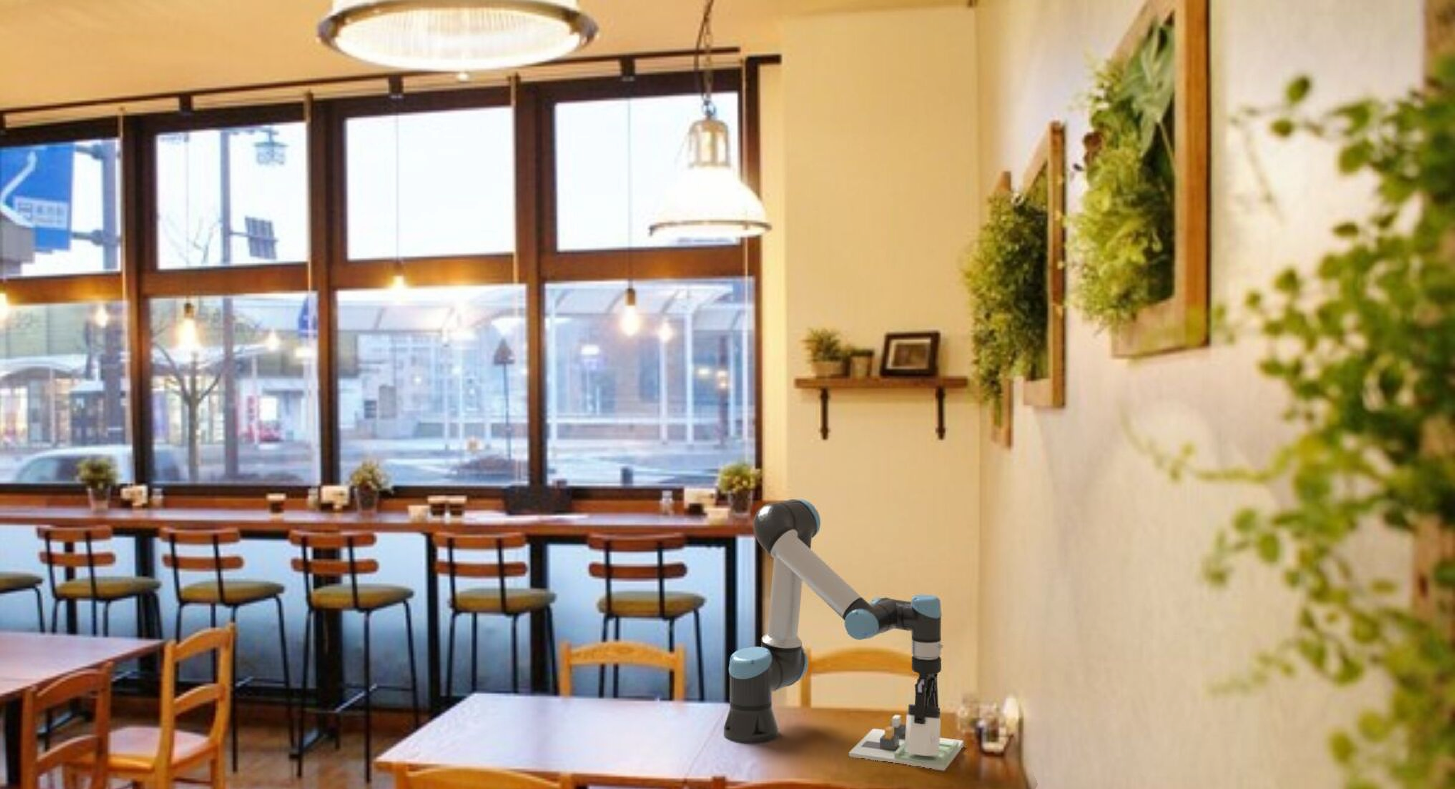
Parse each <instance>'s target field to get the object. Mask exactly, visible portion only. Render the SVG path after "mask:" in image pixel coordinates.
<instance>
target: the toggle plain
mask: <svg viewBox="0 0 1455 789" xmlns="http://www.w3.org/2000/svg"><path fill="white" fill-rule="evenodd" d="M888 726H891V727H894V735H895V736H899V738H902V737H903V736H904V735H905V734H906V723H902V715H899V714H895V715H893V716H892V718H891V722H890V723H889V724H888Z"/></svg>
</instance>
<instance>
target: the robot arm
mask: <svg viewBox="0 0 1455 789" xmlns="http://www.w3.org/2000/svg"><path fill="white" fill-rule="evenodd" d="M818 511H819V510H817V509H816V507H815V505H813V503H811V502H810V501H807V500H805V499H793V498H792V499H788V500H783V501H778V502H777V501H776V502H770V503H767V504H765V505H763V506H762V507H760V508H759V509H758V511H756V514H755V515H754V519H753V522H752V523H753V524H752V526H753V527H752V529H753V533H754V536H755V538H756V540H757V541H758V543H759V545H760V546H761V547H762V548H763V549H764V550H765V551H766V553H767V554H769V555H770V557H772V558H773V567H772V568H773V569H772V578H771V579H772V580H771V589H770V600H769V604H770V605H769V613H768V623H767V624H768V625H767V633H766V634H765V635H763V636H762V637H761V645H760V646H749V647H743V648H740V649H738V650H736V651H735V652H733V653H732V654H731V655H730V658H729V666H728V673H729V709H728V713H727V716H726V719H725V723H724V725H723V737H724V738H725V739H726V740H729V741H731V742H735V743H739V744H764V743H767V742H772V741H774V740H776V739H778V737H779V727H778V723H777V720H776V716H775V714H774V711H773V707H772V704H773V701H772V700H773V699H772V698H773V693H772V692H776V691H778V690H780V689H783V688H785V687H790V686H792V685H795V684H796V683H797V682H799V681H800V680H802V679H803V677H804V676H805V674H806V673H807V670H808V665H809V664H808V662H809V661H808V655H807V653H806V652H805V648H804V647H803V641H802V640H801V638H799V636H798V632H799V623H800V622H799V620H800V611H801V610H800V609H801V600H802V588H803V582H804V584H805V585H807V587H809V589H811V590H812V591H813V592H814V593H815V594H816V595H817V596H818V597H819V598H820V599H822V600H823V602H824V603H826V604H827V605H828V606H829V607H830V608H831V609H832V610H833V611H834V612H835V613H836V614H837V615H838V616H839V617H840V618H842V619H843V621H844V627H845V628H844V629H845V630H846V632H847V635H849V637H851V638H852V639H854V640H857V641H858V640H859V641H861V640H867V639H871V638H873V637H875V636H877V635H880V634H883V633H887V632H889V631H891V630H902V631H907V632H911V655H912V656H911V670H912V671H913V672H914V673H917V674H918V678H917V681H916V683H915V684H914V692H915V694H914V705H915V715H914V723H917V724H924V723H925V707H928V706H932V707H938V708H940V707H939V690H938V675H939V673H940V672H941V671H942V658H941V655H942V649H943V648H944V645H943V644H941V643H942V641H941V640H942V635H941V634H942V632H941V631H942V608H941V607H942V606H941V600H940V598H939V597H938V596H936V595H932V594H915V595H913V596H912V598H911V601H906V600H901V599H894V598H890V597H875V598H873V599H872V600H871V602H870V603H869V602H868V601H867V600H866V599H864V598H863V597H862V596H861V595H860V594H859V593H858V592H857V591H856V590H854V588H852V587H851V585H849V584H848V583H847V582H846V581H845V580H844V579H843V578H842V577H841V576H840V575H839V574H838V573H836V572H835V571H834V570H833V569H832V568H831V567H830V566H829V565H828V564H827V563H826V562H825V561H824V560H823V559H822V558H821V557H819V556H818V555H817V554H816V553H815V552H814V551H813V550H812V549H811V548H812V540H813V539H814V538H815V536H816V535H817V534H818V533H819V531H820V529H821V517H820V513H819V512H818ZM917 718H919V719H917Z"/></svg>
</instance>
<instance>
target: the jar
mask: <svg viewBox="0 0 1455 789" xmlns="http://www.w3.org/2000/svg"><path fill="white" fill-rule="evenodd" d="M914 715H915V703H914V704H911V703H909V704H908V708H907V714H906V722H905V724H906V736H905V752H907V753H909V754H915V755H922V756H937V757H938V756H939V743H940V738H941V726H942V725H941V723H942V722H941V721H942V719H941V718H940V717H941V708H940V707H932V706H928V707H925V723H924V724H917V723H914ZM917 719H919V718H917Z"/></svg>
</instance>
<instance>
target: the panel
mask: <svg viewBox="0 0 1455 789" xmlns="http://www.w3.org/2000/svg"><path fill="white" fill-rule="evenodd" d="M884 734H885V729H880V728H872V729H871V730H870V731H869V732H868V733H867V734H866V735H865V736H864V737H863V738H862V739H861V740H860V741H859V742H858V743H857V744H855V746H854V747H853V748H852V749H851V750H850V751H849V752H848V757H849V756H850V757H849V758H856V759H861V758H865V759H864V760H868V759H870V760H869V761H875V760H876V762H882V761H888V762H893V763H892V764H895V763H904V764H907V765H906V766H909V765H911V767H916V766H921V767H920V768H922V767H925V768H924V769H929V768H932V769H931V770H937V771H943V772H944V771H946V769H947V768H948V766H950V764H951V763H952V762H953V761H954V759H955V758H956V757H957V755H958V754H959V752H960V751H961V750H962V749H963V747H964V740H960V739H952V738H944V737H940V743H939V756H938V757H937V756H922V755H915V754H909V753H907V752H905V736H906V734H905V735H904V736H903V737H902V738H899V746H898V747H897V748H896V749H895V750H890V749H883V748H880V738H881V737H882V736H883V735H884ZM961 748H962V749H961ZM877 760H878V761H877ZM888 762H887V763H888Z"/></svg>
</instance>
